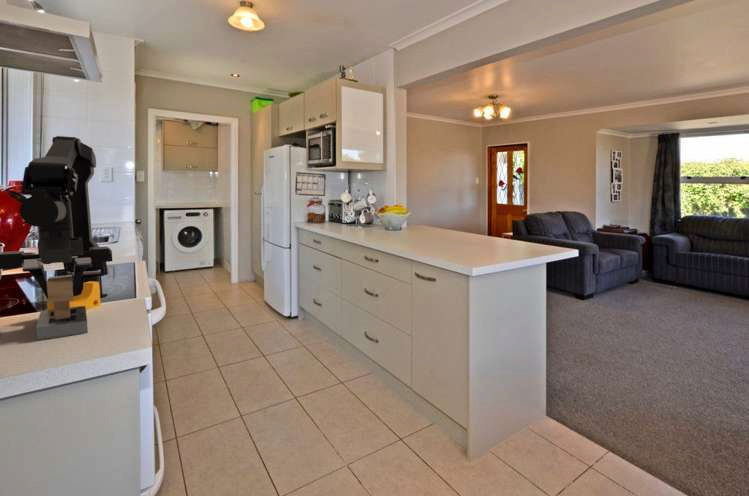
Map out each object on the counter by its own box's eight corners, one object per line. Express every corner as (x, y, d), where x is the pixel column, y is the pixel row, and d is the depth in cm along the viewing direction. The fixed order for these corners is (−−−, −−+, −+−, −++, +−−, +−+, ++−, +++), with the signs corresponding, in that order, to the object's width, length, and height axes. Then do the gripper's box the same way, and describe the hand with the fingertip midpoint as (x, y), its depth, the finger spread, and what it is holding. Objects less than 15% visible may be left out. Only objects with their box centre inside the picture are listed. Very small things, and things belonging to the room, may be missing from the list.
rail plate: (41, 322, 89) (40, 311, 89) (86, 316, 94) (85, 305, 94) (37, 340, 78) (36, 327, 78) (87, 332, 83) (86, 320, 83)
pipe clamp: (85, 305, 104) (83, 281, 103) (100, 306, 103) (99, 281, 102) (41, 319, 92) (39, 291, 91) (58, 320, 91) (56, 292, 90)
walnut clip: (51, 310, 88) (48, 276, 87) (74, 307, 90) (71, 274, 89) (50, 320, 81) (46, 283, 80) (74, 316, 84) (71, 281, 83)
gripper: (-14, 227, 71) (-5, 313, 73) (111, 224, 82) (116, 299, 84) (-4, 224, 80) (4, 300, 82) (108, 221, 91) (112, 289, 93)
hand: (61, 297), depth 85 cm, fingers closed on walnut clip, 4 cm apart
